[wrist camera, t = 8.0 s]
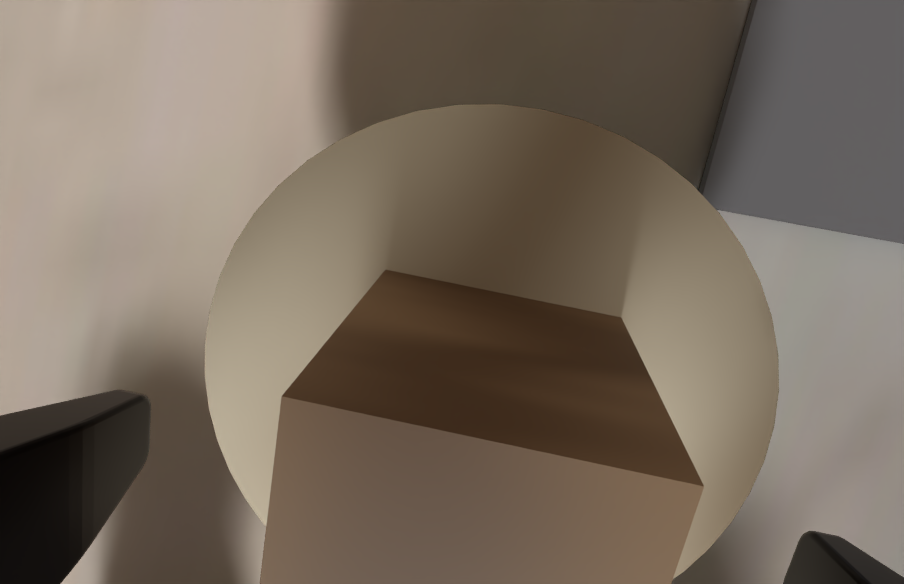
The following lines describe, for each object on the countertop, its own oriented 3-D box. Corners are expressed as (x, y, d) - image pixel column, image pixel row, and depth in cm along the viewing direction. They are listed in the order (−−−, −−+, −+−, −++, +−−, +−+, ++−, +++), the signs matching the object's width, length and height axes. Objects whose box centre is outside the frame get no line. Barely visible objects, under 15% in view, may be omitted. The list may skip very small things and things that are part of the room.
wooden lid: (833, 164, 11) (1210, 234, 5) (669, 635, 14) (783, 1036, 8) (256, 55, 11) (-32, -2, 5) (214, 534, 14) (-6, 841, 8)
